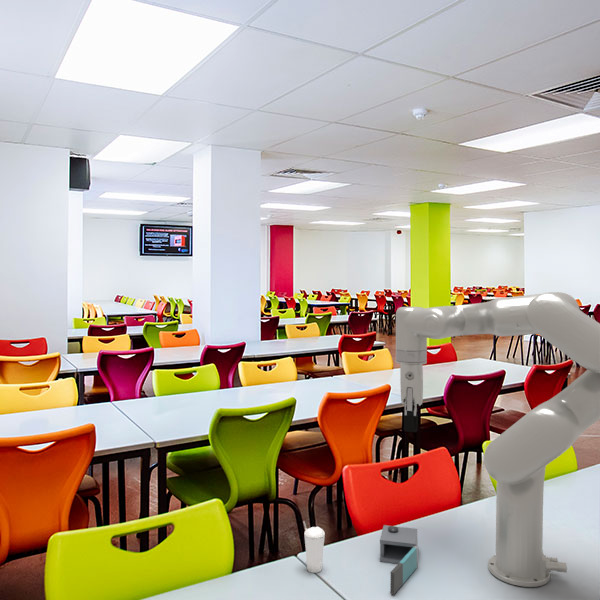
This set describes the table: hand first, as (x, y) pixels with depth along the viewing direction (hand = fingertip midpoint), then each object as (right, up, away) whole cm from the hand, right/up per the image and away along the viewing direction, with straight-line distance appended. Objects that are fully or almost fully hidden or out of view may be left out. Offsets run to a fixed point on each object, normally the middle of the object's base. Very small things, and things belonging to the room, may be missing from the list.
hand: (410, 430), depth 136 cm
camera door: (-5, -27, -18) cm, 33 cm away
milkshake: (-24, -28, -14) cm, 39 cm away
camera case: (-4, -27, -8) cm, 29 cm away
